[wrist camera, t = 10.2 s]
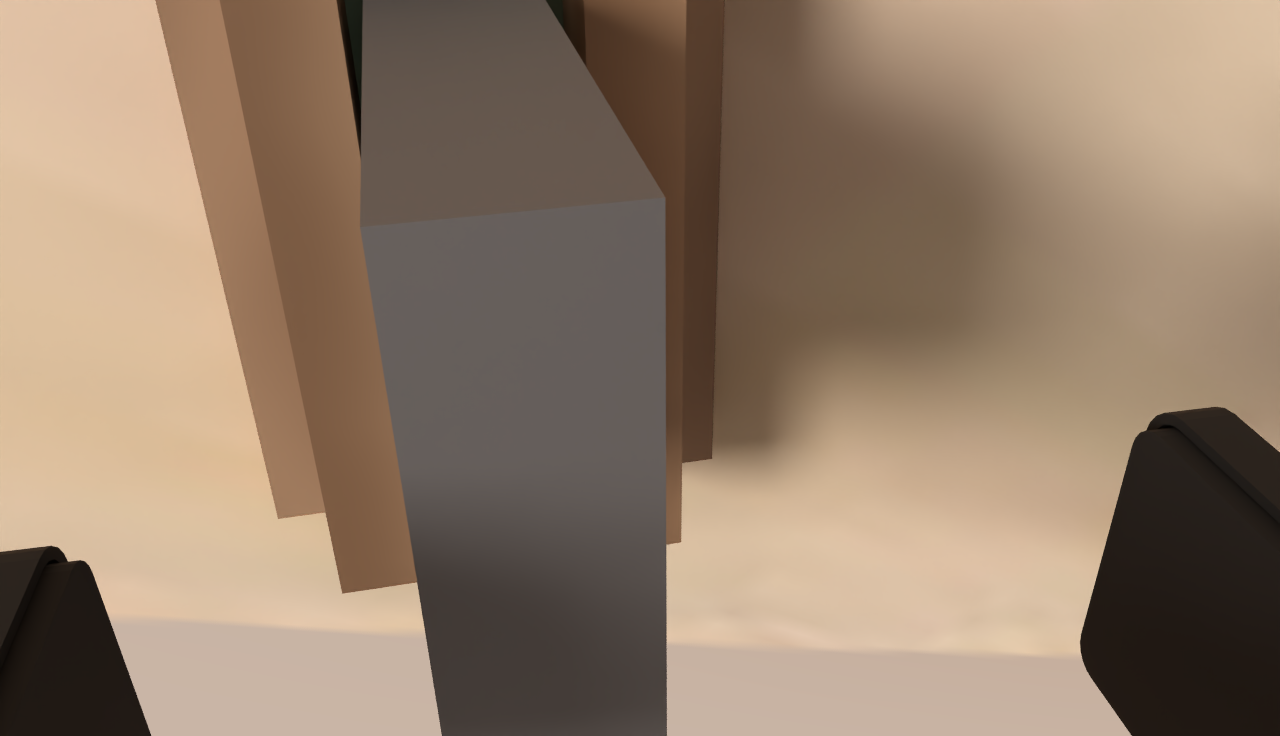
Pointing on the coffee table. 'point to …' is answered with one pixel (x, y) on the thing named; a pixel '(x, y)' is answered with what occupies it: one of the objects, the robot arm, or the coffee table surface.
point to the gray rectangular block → (519, 365)
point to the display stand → (333, 249)
